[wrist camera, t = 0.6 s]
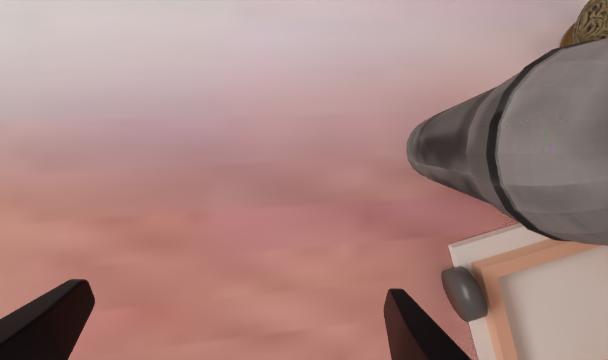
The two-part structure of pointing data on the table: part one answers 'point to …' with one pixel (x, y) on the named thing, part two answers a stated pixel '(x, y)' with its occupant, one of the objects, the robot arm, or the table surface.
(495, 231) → the chassis
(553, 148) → the beverage cup
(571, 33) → the cup
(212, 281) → the table surface
